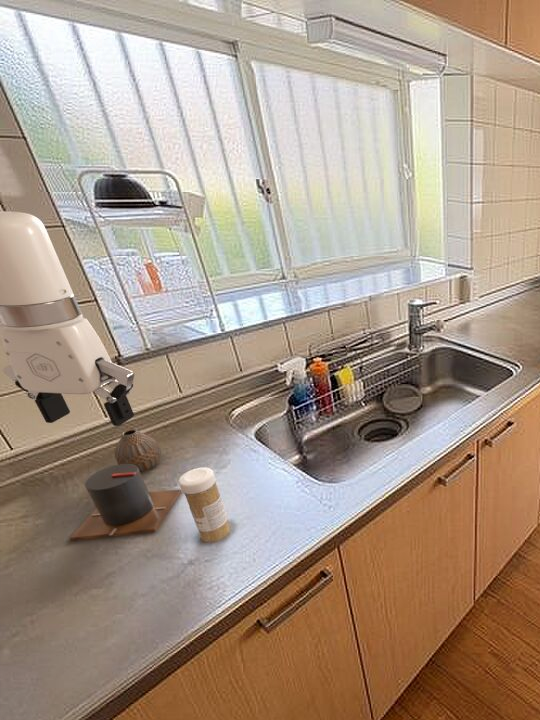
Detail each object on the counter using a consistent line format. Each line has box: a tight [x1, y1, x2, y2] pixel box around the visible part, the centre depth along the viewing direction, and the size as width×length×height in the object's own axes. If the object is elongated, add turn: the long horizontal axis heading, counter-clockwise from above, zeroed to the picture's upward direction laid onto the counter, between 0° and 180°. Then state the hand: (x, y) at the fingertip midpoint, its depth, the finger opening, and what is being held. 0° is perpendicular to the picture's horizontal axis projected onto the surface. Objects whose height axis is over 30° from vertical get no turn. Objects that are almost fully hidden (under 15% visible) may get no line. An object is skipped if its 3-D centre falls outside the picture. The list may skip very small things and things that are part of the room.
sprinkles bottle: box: [178, 467, 232, 543], centre depth 70 cm, size 5×5×14 cm
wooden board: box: [69, 489, 183, 542], centre depth 75 cm, size 12×11×2 cm
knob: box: [84, 464, 153, 526], centre depth 72 cm, size 7×7×8 cm
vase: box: [114, 428, 162, 473], centre depth 85 cm, size 7×7×9 cm
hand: (91, 419), depth 64 cm, fingers open, 9 cm apart
